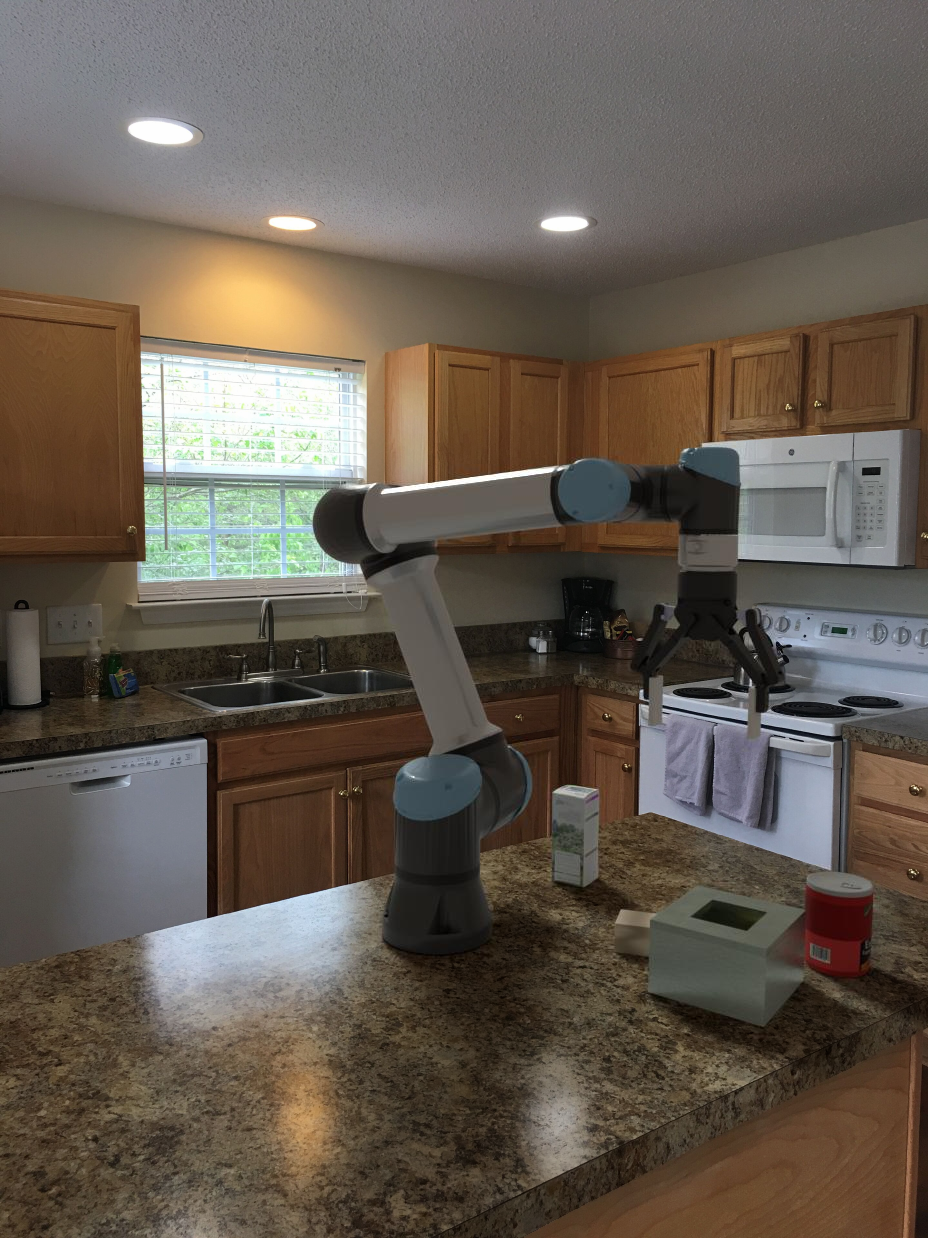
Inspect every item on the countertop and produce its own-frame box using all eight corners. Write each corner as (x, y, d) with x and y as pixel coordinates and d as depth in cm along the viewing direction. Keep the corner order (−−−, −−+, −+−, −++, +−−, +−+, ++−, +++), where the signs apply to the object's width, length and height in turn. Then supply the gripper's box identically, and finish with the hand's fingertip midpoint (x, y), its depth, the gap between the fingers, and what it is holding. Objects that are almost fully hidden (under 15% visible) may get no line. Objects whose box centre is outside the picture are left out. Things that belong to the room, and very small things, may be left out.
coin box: (648, 992, 120) (650, 919, 119) (695, 952, 131) (697, 885, 130) (763, 1027, 111) (766, 949, 111) (803, 981, 123) (805, 910, 122)
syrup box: (599, 877, 158) (600, 788, 157) (583, 889, 153) (584, 796, 152) (566, 871, 161) (568, 782, 160) (549, 882, 156) (551, 791, 155)
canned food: (875, 982, 123) (879, 895, 122) (807, 975, 124) (810, 889, 123) (863, 955, 130) (867, 873, 129) (799, 950, 132) (802, 869, 131)
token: (614, 953, 131) (614, 923, 131) (620, 938, 136) (621, 909, 135) (652, 958, 129) (653, 928, 129) (657, 943, 134) (658, 914, 134)
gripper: (607, 566, 133) (604, 724, 135) (795, 572, 119) (788, 748, 121) (632, 565, 139) (629, 715, 141) (814, 570, 125) (808, 738, 127)
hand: (703, 731), depth 131 cm, fingers open, 13 cm apart
